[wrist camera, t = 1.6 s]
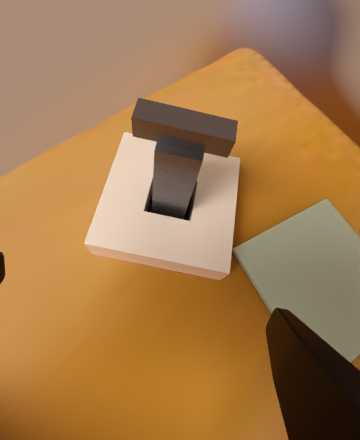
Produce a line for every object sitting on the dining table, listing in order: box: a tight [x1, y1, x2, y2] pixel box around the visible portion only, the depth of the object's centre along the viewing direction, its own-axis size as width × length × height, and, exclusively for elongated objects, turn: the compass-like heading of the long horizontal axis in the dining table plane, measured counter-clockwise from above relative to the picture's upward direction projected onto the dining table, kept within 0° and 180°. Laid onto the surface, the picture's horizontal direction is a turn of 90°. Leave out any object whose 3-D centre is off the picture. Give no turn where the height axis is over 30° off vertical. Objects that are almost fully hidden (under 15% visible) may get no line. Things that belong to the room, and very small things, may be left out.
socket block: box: [84, 132, 240, 280], centre depth 24 cm, size 12×12×3 cm
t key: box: [131, 98, 238, 219], centre depth 20 cm, size 3×6×12 cm, turn 80°
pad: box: [232, 198, 360, 363], centre depth 24 cm, size 13×13×1 cm
